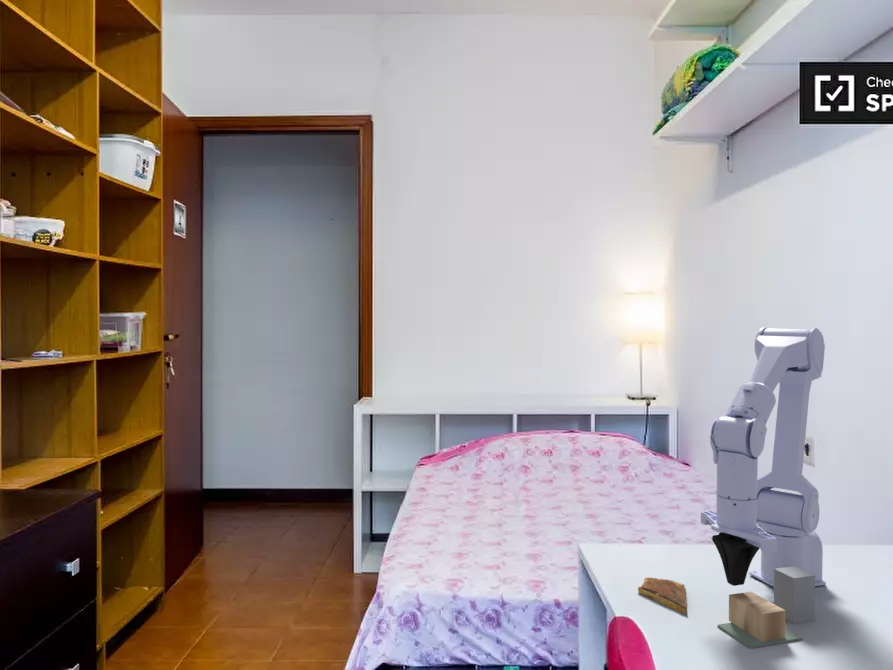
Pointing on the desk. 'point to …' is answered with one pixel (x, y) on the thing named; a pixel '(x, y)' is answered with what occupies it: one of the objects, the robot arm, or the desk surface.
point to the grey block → (795, 593)
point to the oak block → (757, 616)
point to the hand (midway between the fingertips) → (735, 583)
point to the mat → (754, 642)
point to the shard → (665, 593)
